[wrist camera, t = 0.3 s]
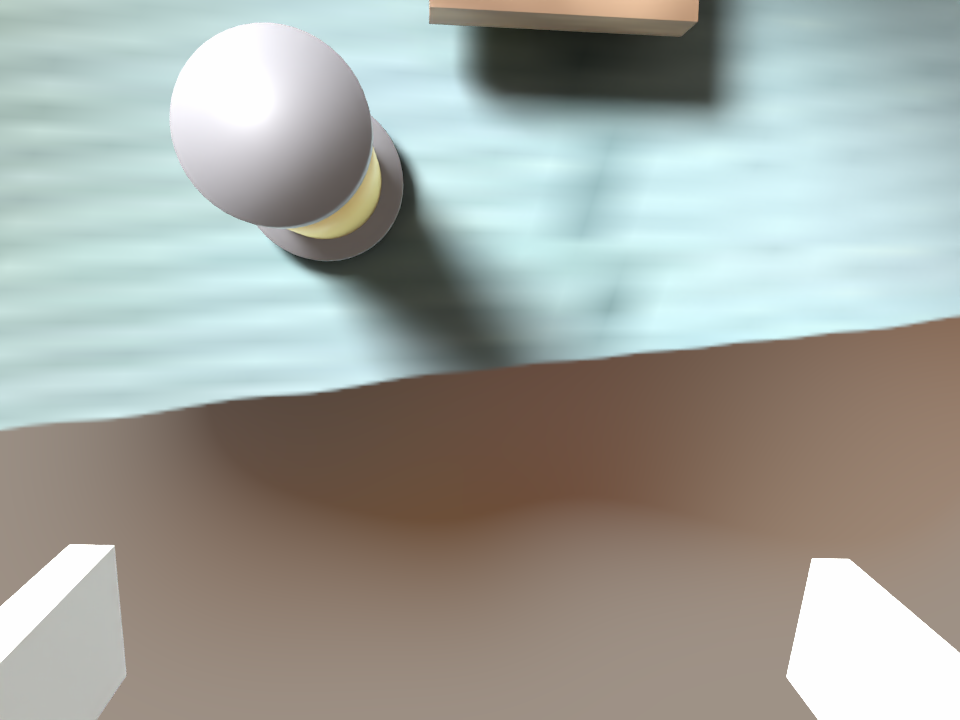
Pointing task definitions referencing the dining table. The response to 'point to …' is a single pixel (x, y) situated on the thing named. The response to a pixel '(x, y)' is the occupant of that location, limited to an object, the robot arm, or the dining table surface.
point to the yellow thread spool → (286, 141)
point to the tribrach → (571, 15)
